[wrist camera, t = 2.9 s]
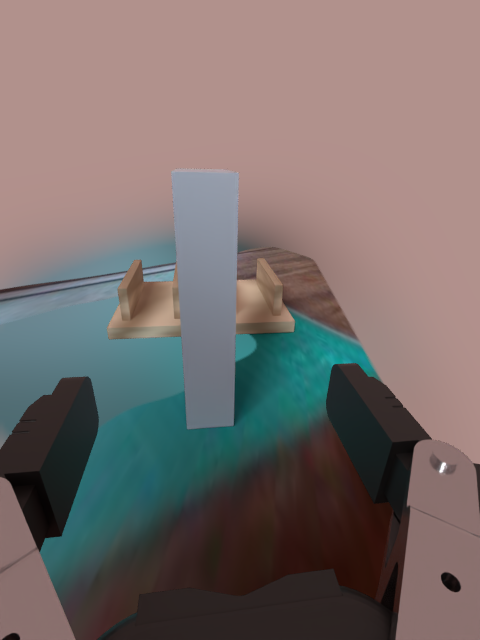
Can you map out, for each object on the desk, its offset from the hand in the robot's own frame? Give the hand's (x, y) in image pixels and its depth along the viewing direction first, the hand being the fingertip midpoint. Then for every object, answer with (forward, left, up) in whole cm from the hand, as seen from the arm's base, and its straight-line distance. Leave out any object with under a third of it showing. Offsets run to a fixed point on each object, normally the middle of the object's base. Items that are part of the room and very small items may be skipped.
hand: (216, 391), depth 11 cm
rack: (-19, +19, -8) cm, 28 cm away
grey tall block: (-7, +7, -9) cm, 13 cm away
